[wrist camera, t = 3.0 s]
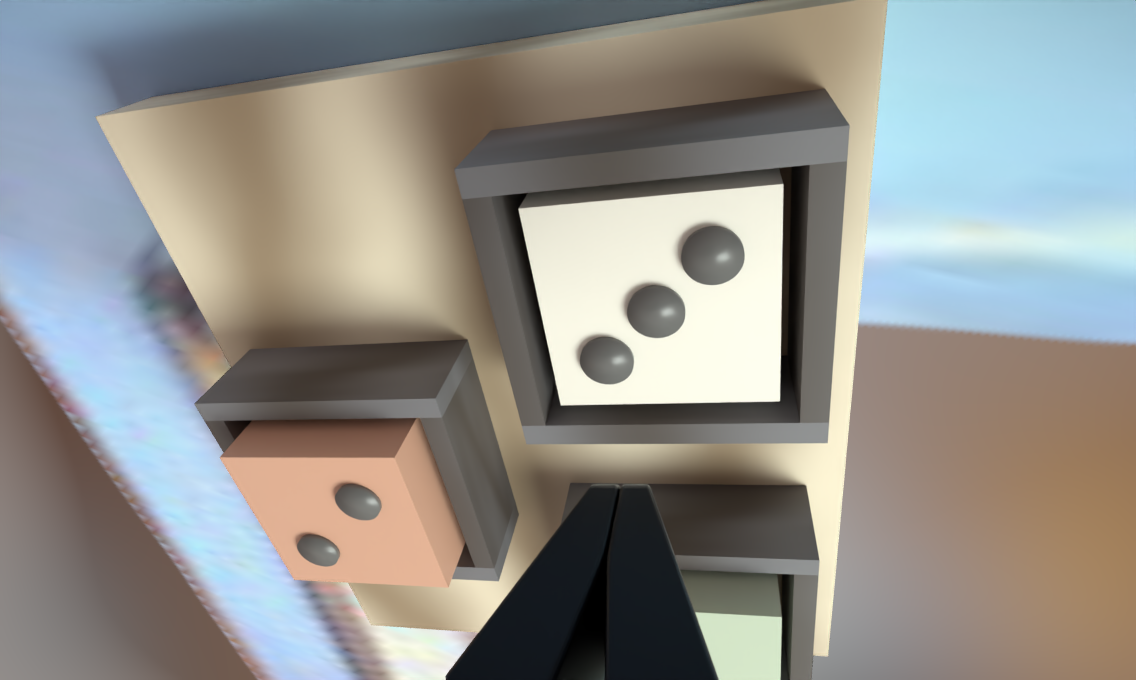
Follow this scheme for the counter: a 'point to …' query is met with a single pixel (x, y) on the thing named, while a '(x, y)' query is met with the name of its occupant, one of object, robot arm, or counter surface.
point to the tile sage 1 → (739, 621)
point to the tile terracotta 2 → (349, 499)
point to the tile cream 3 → (661, 288)
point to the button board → (531, 275)
